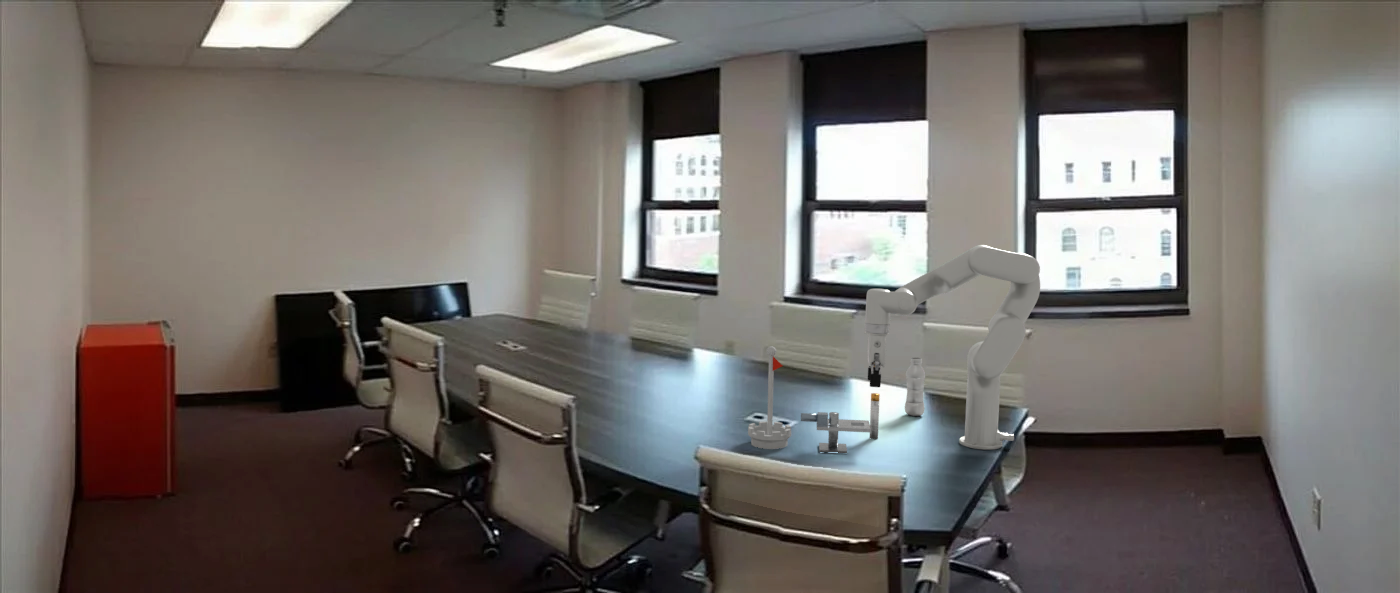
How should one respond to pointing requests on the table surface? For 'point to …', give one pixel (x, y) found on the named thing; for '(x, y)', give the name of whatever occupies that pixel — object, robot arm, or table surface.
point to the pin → (874, 415)
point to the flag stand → (770, 417)
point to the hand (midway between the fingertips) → (873, 383)
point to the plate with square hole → (835, 429)
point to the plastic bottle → (915, 388)
